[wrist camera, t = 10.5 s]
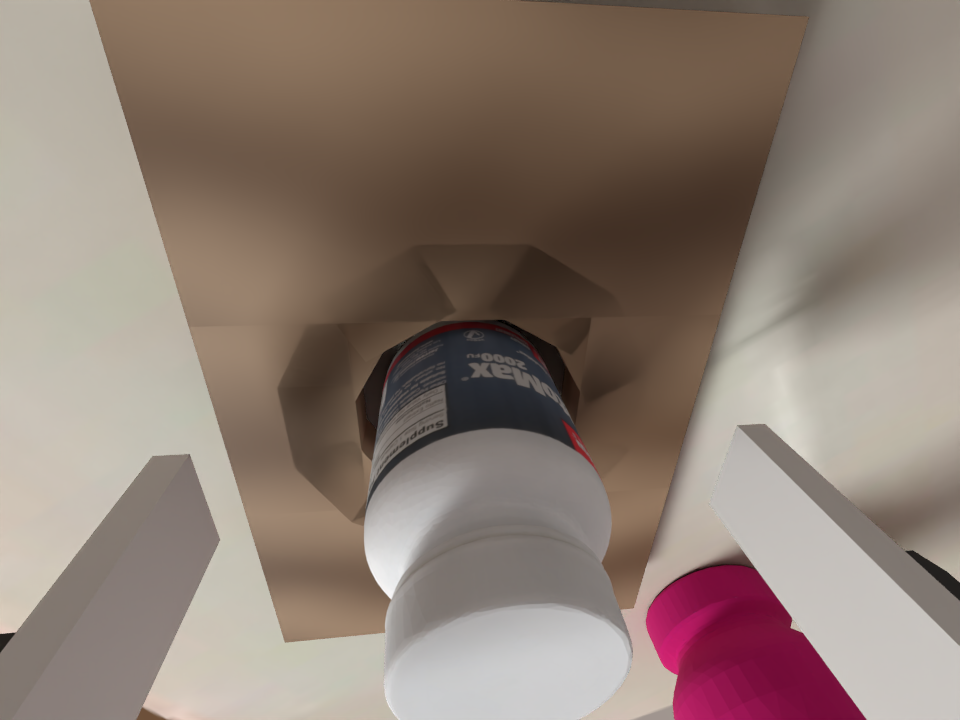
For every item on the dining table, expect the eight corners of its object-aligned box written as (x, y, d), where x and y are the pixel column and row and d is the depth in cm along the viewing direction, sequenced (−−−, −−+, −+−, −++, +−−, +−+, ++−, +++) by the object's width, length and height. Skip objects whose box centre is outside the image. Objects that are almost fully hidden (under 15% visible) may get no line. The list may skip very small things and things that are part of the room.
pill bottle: (577, 376, 15) (740, 653, 7) (472, 472, 17) (517, 786, 9) (458, 277, 13) (514, 518, 5) (350, 396, 15) (271, 721, 7)
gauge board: (131, -5, 9) (82, -25, 8) (759, 28, 11) (809, 17, 10) (295, 603, 19) (284, 642, 18) (618, 574, 21) (633, 608, 19)
